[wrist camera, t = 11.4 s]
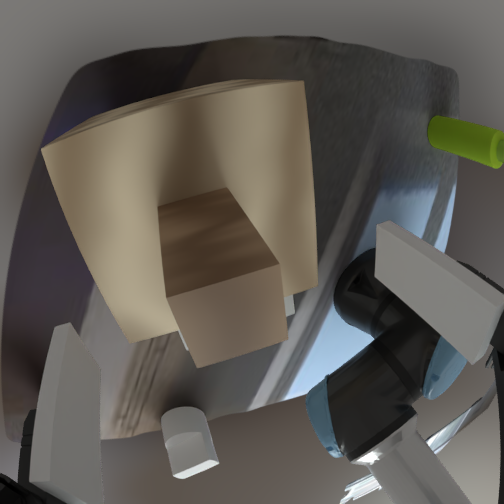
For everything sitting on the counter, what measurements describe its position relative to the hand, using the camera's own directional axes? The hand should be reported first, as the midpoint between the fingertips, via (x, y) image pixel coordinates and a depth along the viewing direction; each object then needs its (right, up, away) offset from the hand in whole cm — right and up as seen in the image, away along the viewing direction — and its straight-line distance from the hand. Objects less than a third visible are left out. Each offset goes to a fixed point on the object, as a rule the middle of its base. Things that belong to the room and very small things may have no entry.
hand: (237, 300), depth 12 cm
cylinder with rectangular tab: (-13, -31, +43) cm, 55 cm away
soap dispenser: (+32, +23, +32) cm, 51 cm away
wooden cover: (-7, +11, +19) cm, 23 cm away
